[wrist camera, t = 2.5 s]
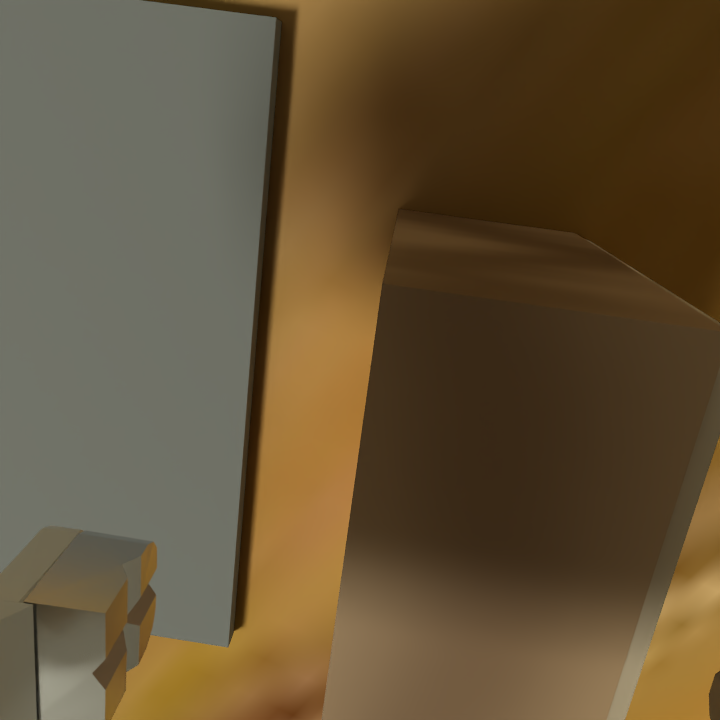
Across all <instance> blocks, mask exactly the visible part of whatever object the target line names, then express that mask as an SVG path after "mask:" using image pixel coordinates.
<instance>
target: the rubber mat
mask: <svg viewBox="0 0 720 720" xmlns="http://www.w3.org/2000/svg"><path fill="white" fill-rule="evenodd" d="M281 25H282V22H281V21H280V20H279V19H277V18H276V17H268V16H260V15H252V14H244V13H237V12H229V11H221V10H213V9H205V8H198V7H190V6H182V5H174V4H166V3H159V2H151V1H143V0H0V573H1V572H2V571H3V570H4V569H5V568H6V567H7V566H8V565H9V564H10V562H11V561H12V560H13V559H14V558H15V557H16V556H17V555H18V554H19V553H20V552H21V551H22V549H23V548H24V547H25V546H26V545H27V544H28V543H29V542H30V541H31V540H32V539H33V537H34V536H35V535H36V534H37V533H38V532H39V531H40V530H41V529H42V528H44V527H48V526H58V527H66V528H73V529H80V530H83V531H92V532H98V533H105V534H111V535H117V536H123V537H129V538H135V539H141V540H147V541H153V542H154V543H155V545H156V547H157V569H156V571H155V573H154V574H153V576H152V578H151V580H150V582H149V583H148V584H149V585H150V586H151V588H152V589H153V591H154V592H155V594H156V609H155V616H154V622H153V628H152V631H151V634H150V635H154V636H160V637H167V638H173V639H179V640H185V641H192V642H198V643H204V644H210V645H216V646H223V647H229V644H230V641H231V638H232V636H233V633H234V622H235V609H236V596H237V584H238V571H239V558H240V546H241V533H242V520H243V508H244V495H245V482H246V469H247V457H248V444H249V431H250V419H251V406H252V393H253V381H254V368H255V355H256V343H257V330H258V317H259V304H260V292H261V279H262V266H263V254H264V241H265V228H266V216H267V203H268V190H269V178H270V165H271V152H272V139H273V127H274V114H275V101H276V89H277V76H278V63H279V51H280V38H281Z"/></svg>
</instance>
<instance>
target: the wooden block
mask: <svg viewBox="0 0 720 720" xmlns="http://www.w3.org/2000/svg"><path fill="white" fill-rule="evenodd" d="M719 435H720V323H719V322H718V321H716V320H715V319H713V318H711V317H710V316H708V315H707V314H705V313H703V312H702V311H700V310H699V309H697V308H696V307H694V306H692V305H691V304H689V303H688V302H686V301H684V300H683V299H681V298H680V297H678V296H677V295H675V294H673V293H672V292H670V291H669V290H667V289H665V288H664V287H662V286H661V285H659V284H658V283H656V282H654V281H653V280H651V279H650V278H648V277H646V276H645V275H643V274H642V273H640V272H638V271H637V270H635V269H634V268H632V267H631V266H629V265H627V264H626V263H624V262H623V261H621V260H619V259H618V258H616V257H615V256H613V255H612V254H610V253H608V252H607V251H605V250H604V249H602V248H600V247H599V246H597V245H596V244H594V243H593V242H591V241H589V240H587V239H584V238H582V237H581V236H579V235H577V234H576V233H571V232H564V231H557V230H550V229H542V228H535V227H528V226H520V225H513V224H506V223H499V222H491V221H484V220H477V219H469V218H462V217H455V216H448V215H440V214H433V213H426V212H418V211H411V210H404V209H399V211H398V215H397V220H396V224H395V229H394V233H393V238H392V242H391V247H390V251H389V256H388V260H387V265H386V270H385V274H384V279H383V283H382V290H381V297H380V304H379V311H378V319H377V326H376V333H375V340H374V347H373V355H372V362H371V369H370V376H369V383H368V391H367V398H366V405H365V412H364V419H363V426H362V434H361V441H360V448H359V455H358V462H357V470H356V477H355V484H354V491H353V498H352V505H351V513H350V520H349V527H348V534H347V541H346V549H345V556H344V563H343V570H342V577H341V585H340V592H339V599H338V606H337V613H336V620H335V628H334V635H333V642H332V649H331V656H330V664H329V671H328V678H327V685H326V692H325V699H324V707H323V714H322V720H625V718H626V715H627V712H628V709H629V706H630V703H631V700H632V697H633V694H634V691H635V688H636V685H637V682H638V679H639V676H640V673H641V670H642V667H643V664H644V661H645V658H646V655H647V652H648V649H649V646H650V643H651V640H652V637H653V634H654V631H655V628H656V625H657V622H658V619H659V616H660V613H661V610H662V607H663V604H664V601H665V598H666V595H667V592H668V589H669V586H670V583H671V580H672V577H673V574H674V571H675V568H676V565H677V562H678V559H679V556H680V553H681V550H682V547H683V544H684V541H685V538H686V535H687V532H688V529H689V526H690V523H691V520H692V517H693V514H694V511H695V508H696V505H697V502H698V499H699V496H700V493H701V490H702V487H703V484H704V481H705V478H706V475H707V472H708V469H709V466H710V463H711V460H712V457H713V454H714V450H715V447H716V444H717V441H718V438H719Z"/></svg>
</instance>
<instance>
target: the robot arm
mask: <svg viewBox="0 0 720 720" xmlns="http://www.w3.org/2000/svg"><path fill="white" fill-rule="evenodd" d="M156 569H157V547H156V545H155V543H154V542H153V541H147V540H141V539H135V538H129V537H123V536H117V535H111V534H105V533H98V532H92V531H83V530H80V529H73V528H66V527H58V526H48V527H44V528H42V529H41V530H40V531H39V532H38V533H37V534H36V535H35V536H34V537H33V539H32V540H31V541H30V542H29V543H28V544H27V545H26V546H25V547H24V548H23V549H22V551H21V552H20V553H19V554H18V555H17V556H16V557H15V558H14V559H13V560H12V561H11V562H10V564H9V565H8V566H7V567H6V568H5V569H4V570H3V571H2V572H1V573H0V720H111V719H112V717H113V715H114V713H115V711H116V709H117V707H118V705H119V703H120V701H121V699H122V697H123V695H124V693H125V691H126V672H127V671H129V670H130V669H132V668H134V667H135V666H137V665H138V664H139V662H140V660H141V658H142V656H143V654H144V652H145V650H146V647H147V644H148V641H149V638H150V634H151V631H152V628H153V622H154V616H155V609H156V594H155V592H154V591H153V589H152V588H151V586H150V585H149V584H148V583H149V582H150V580H151V578H152V576H153V574H154V573H155V571H156ZM709 713H710V719H711V720H720V671H719V672H718V673H716V674H715V677H714V680H713V683H712V686H711V689H710V693H709Z"/></svg>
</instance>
